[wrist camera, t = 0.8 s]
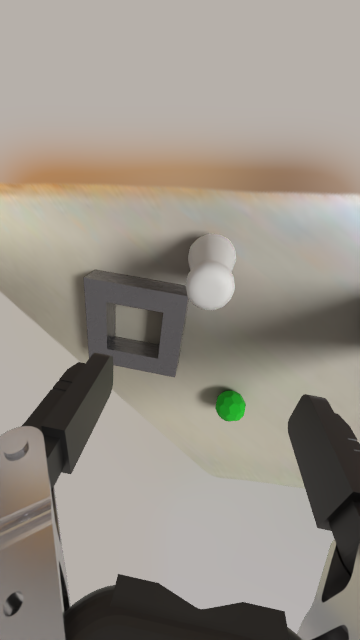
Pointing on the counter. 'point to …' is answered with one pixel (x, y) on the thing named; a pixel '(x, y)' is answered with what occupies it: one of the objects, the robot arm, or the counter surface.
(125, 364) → the collar
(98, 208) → the counter surface
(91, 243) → the counter surface
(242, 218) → the counter surface
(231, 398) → the polyhedron
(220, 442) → the counter surface
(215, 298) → the salt shaker
